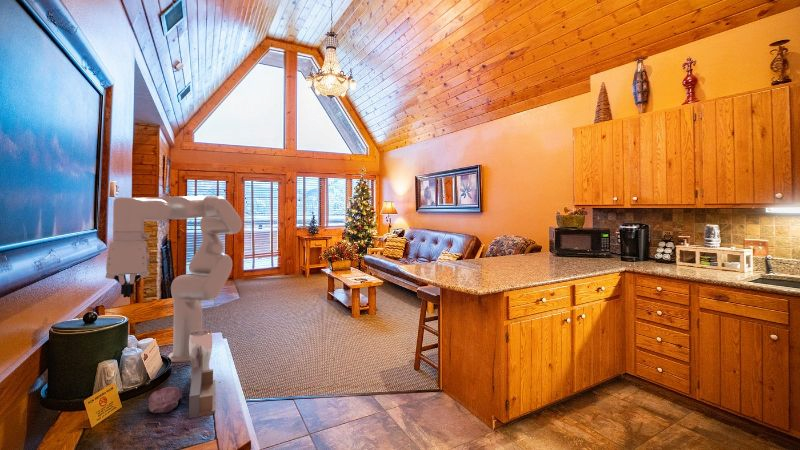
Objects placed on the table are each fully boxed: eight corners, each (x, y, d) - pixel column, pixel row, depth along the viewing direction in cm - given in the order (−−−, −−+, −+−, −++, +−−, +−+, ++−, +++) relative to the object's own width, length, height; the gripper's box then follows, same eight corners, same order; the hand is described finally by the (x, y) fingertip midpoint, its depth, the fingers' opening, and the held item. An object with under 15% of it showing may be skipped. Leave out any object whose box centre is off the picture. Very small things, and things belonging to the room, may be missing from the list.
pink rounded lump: (144, 423, 92) (144, 403, 92) (151, 398, 105) (151, 381, 105) (180, 414, 96) (180, 396, 96) (183, 392, 109) (183, 375, 109)
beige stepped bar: (193, 386, 112) (193, 367, 112) (215, 382, 115) (215, 364, 115) (188, 418, 95) (189, 396, 95) (214, 413, 98) (215, 391, 98)
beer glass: (198, 382, 115) (199, 337, 115) (183, 378, 117) (184, 334, 117) (216, 373, 121) (217, 330, 121) (201, 370, 124) (202, 328, 124)
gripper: (159, 236, 115) (158, 292, 116) (101, 236, 108) (100, 295, 109) (155, 238, 109) (154, 297, 109) (93, 238, 102) (92, 301, 102)
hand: (127, 296), depth 109 cm, fingers closed
